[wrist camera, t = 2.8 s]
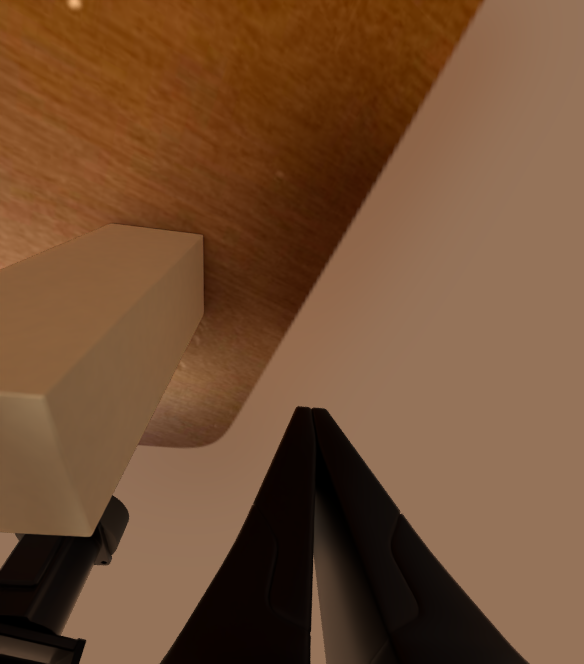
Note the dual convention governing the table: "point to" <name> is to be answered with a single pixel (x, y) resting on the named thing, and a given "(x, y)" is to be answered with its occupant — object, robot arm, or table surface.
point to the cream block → (88, 367)
